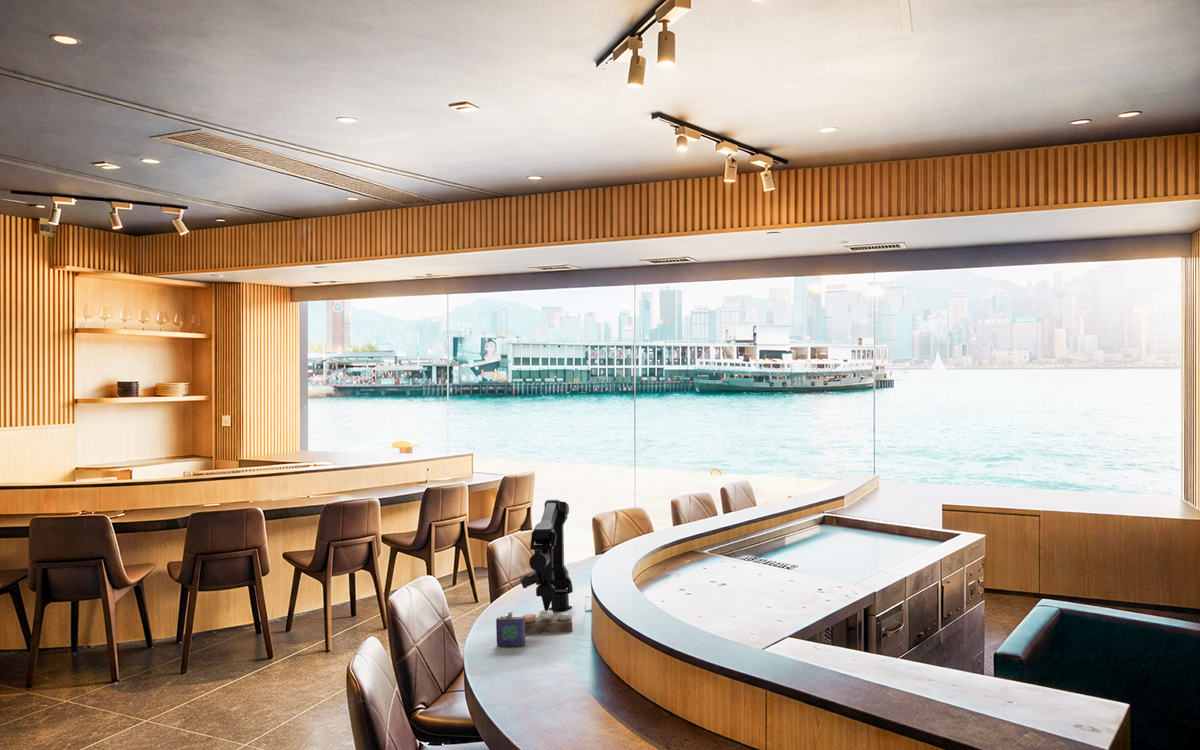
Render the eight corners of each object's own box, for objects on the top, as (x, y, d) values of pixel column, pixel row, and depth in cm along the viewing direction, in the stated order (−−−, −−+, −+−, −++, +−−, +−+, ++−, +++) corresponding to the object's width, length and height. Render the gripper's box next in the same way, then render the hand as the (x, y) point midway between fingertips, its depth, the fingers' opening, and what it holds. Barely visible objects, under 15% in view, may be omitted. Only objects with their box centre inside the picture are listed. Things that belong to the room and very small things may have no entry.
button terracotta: (522, 623, 241) (522, 618, 242) (522, 619, 246) (522, 614, 246) (535, 622, 242) (535, 617, 242) (535, 618, 246) (535, 613, 246)
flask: (526, 644, 229) (524, 610, 230) (524, 647, 226) (523, 613, 227) (497, 645, 230) (496, 611, 230) (495, 648, 227) (494, 614, 227)
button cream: (540, 618, 242) (539, 614, 242) (540, 615, 246) (540, 610, 246) (553, 618, 242) (552, 613, 242) (553, 614, 247) (552, 609, 247)
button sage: (558, 620, 242) (557, 616, 243) (557, 617, 247) (557, 612, 247) (571, 620, 243) (570, 615, 243) (570, 616, 247) (570, 611, 247)
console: (521, 634, 240) (521, 625, 240) (522, 627, 248) (522, 618, 248) (572, 631, 241) (572, 622, 241) (571, 623, 249) (571, 615, 249)
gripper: (521, 559, 254) (523, 604, 253) (520, 572, 235) (521, 620, 235) (553, 558, 255) (555, 602, 254) (554, 570, 236) (555, 618, 235)
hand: (546, 610), depth 245 cm, fingers closed
